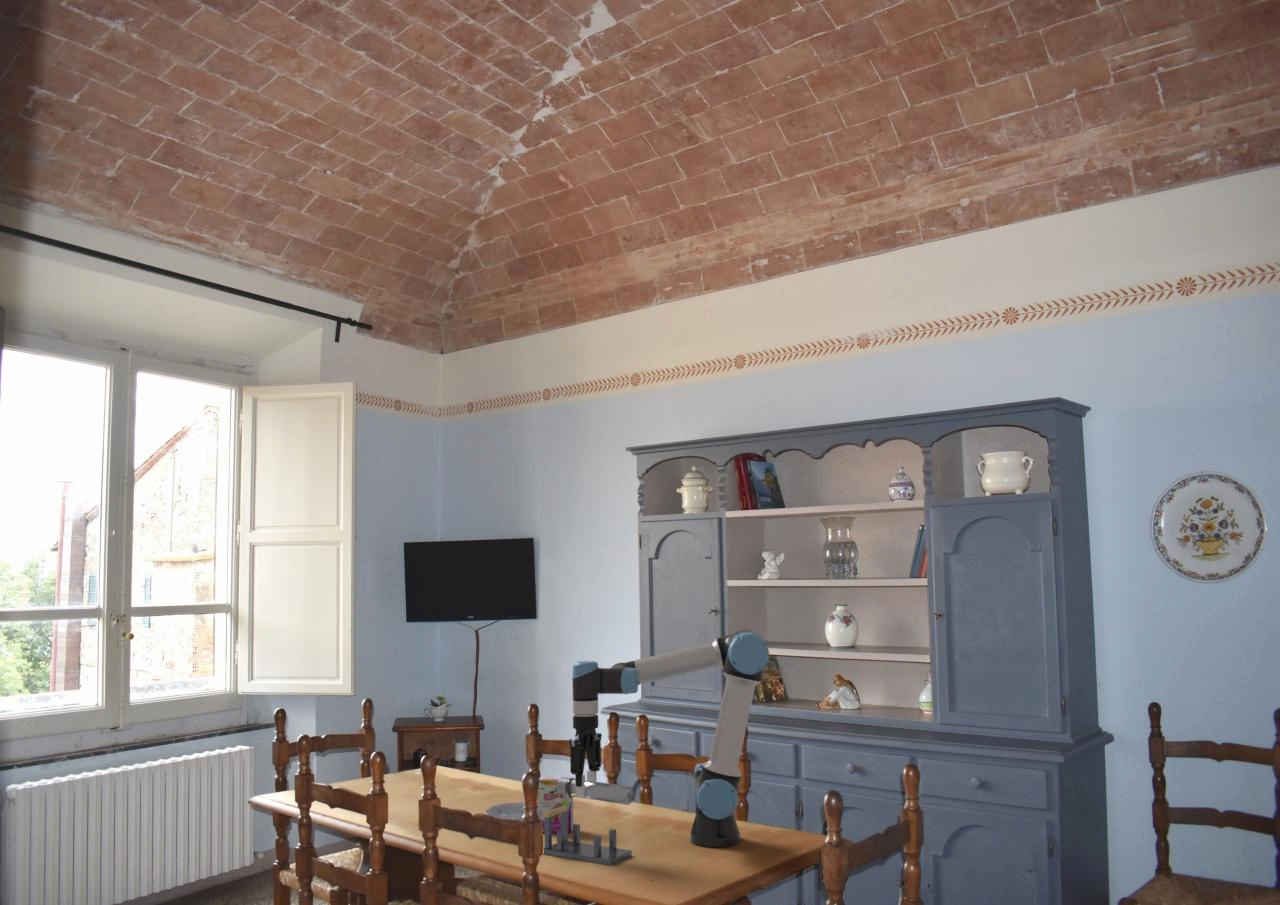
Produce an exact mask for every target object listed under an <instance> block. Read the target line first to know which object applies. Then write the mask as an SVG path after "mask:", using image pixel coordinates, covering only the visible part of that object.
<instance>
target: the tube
mask: <svg viewBox="0 0 1280 905" xmlns="http://www.w3.org/2000/svg"><path fill="white" fill-rule="evenodd" d="M559 777H560V778H559V779H558V781H557V784H556V791H557V793H558V794H560V795H566V796H571V797H573V798H574V797H575V798H577V797H576V777H575V778H574V777H572V778H566V777H567V776H565V777H564V776H559ZM584 799H586V800H594V801H601V802H605V803H615V804H619V805H620V804H621V805H627V806H628V805H630V804H631V803H632V801H633V799H634V790H633V788H632V786H630V785H629V786H628V785H621V784H616V783H615V784H614V783H609V782H601V781H596V782H594V781H587V779H585V798H584Z"/></svg>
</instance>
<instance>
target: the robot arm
mask: <svg viewBox="0 0 1280 905" xmlns="http://www.w3.org/2000/svg"><path fill="white" fill-rule="evenodd" d="M769 658H770V650H769V647H768V644H767V641H766V640H765V639H764V638H763V637H762V636H761V635H759V634H758V633H756V632H754V631H752V630H749V629H743V630H738V631H735V632H733V633H730V634H728V635H724V636H721V637H716V638H715V639H714V640H713V642H710V643H705V644H701V645H697V646H692V647H688V648H684V649H678V650H674V651H671V652H666V653H660V654H656V655H652V656H647V657H644V658H639V659H635V660H631V661H625V662H617V663H615V664H614V665H612V666H611V667H608V668H607V667H606V668H605V667H603V668H602V667H599V664H598V662H597V661H594V660H593V661H592V660H584V661H582V660H580V661H576V662H574V663H573V666H572V713H573V715H572V727H573V729H574V730H575V735H574V737H573V738H570V739H569V743H568V744H569V746H570V750H569V751H570V753H569V754H570V762H569V763H570V769H569V770H570V773H571V774H572V775H575V776H574V777H575V779H576V797H575V798H577V799H586V798H585V780H587V781H594V782H597V772H600V770H601V767H602V742H601V741H602V733H599V732H597V731H596V729H597V728H598V727H599V716H598V715H597V714H599V695H607V694H608V695H609V694H611V695H612V694H613V695H614V694H615V695H618V694H619V695H628V694H629V695H630V694H636V693H638V691H639V686H640V685H642V684H643V685H644V684H647V683H648V684H649V683H652V682H656V681H657V682H658V681H661V680H665V679H671V678H674V677H680V676H684V675H687V674H688V675H689V674H693V673H697V672H701V671H706V670H710V669H714V668H720V669H721V670H723V672H722V674H723V675H724V677H725V678H726V679H725V680H726V682H725V684H724V690H723V694H722V700H721V704H720V707H719V708H720V709H719V713H718V718H717V721H716V727H715V730H714V735H713V736H714V737H713V739H712V740H713V741H712V744H711V750H710V754H709V758H708V760H707V761H706V762H703V763H696V765H695V767H694V772H693V775H694V792H695V794H694V796H695V798H694V801H695V804H694V805H695V816H694V820H693V823H692V825H691V826H692V827H691V830H690V842H691V843H692V844H694V845H696V846H700V847H705V848H725V847H732V846H735V845H737V844H739V843H740V842H741V831H740V830H739V826H738V823H737V819H736V817H735V812H734V811H735V810H736V808H737V806H738V803H739V802H738V801H739V799H738V798H739V796H738V792H739V787H740V784H741V778H742V773H741V771H740V770H739V763H740V759H741V754H742V748H743V745H744V744H743V743H744V739H745V734H746V731H747V725H748V721H749V717H750V716H749V715H750V711H751V706H752V703H753V697H754V693H755V688H756V686H758V685H759V684H761V683H762V680H763V677H764V676H763V675H764V670H765V667H766V666H767V665H768V664H767V663H769ZM586 759H587V764H588V765H587V766H588V770H587V771H586V775H585V774H584V771H585V770H584V769H585V761H586Z"/></svg>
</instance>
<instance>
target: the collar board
mask: <svg viewBox="0 0 1280 905" xmlns="http://www.w3.org/2000/svg"><path fill="white" fill-rule="evenodd" d="M559 813H561V830H558V831H557V833H556V843H554V844H553V837H552V836H553V832H552V816H554V815H557V814H559ZM544 818H545V832H544V848H543V849H544V854H543V855H545V856H550V855H552V857H556V856H557V858H562V857H563V859H568V858H569V860H576V861H580V862H581V861H582V862H585V863H586V862H587V863H592V864H598V865H603V866H604V865H605V866H610V865H611V866H613V865H615V864H617V862H618V863H619V862H621V861H624V860H626V859H627V858H630V857H632V856H633V855H632V854H633V852H632V850H630V849H623V848H618V847H617V829H616V828H615V829H614V828H611V829H609V830H608V836H609V837H608V839H609V842H608V844H609V846H605V845H602V835H598V834H596V835H593V843H591V844H590V843H585V842H581V824H579V823H574V825H573V830H572V840H569V837H568V836H569V835H568V834H569V833H568V807H567V806H562V807H559V808H556V809H553V810H550V811H548V812H545V813H544Z"/></svg>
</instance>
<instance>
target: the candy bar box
mask: <svg viewBox="0 0 1280 905" xmlns="http://www.w3.org/2000/svg"><path fill="white" fill-rule="evenodd" d="M560 777H561V776H559V777H558V776H540V777H539V778H538V779H539V789H538V815H539V819H540V821H541V824H542V826H543V830H544V832H543V833H545V818H544V813H545V812H548V811H550V810H553V809H556V808H559V807H562V806H567V807H568V834H570V833H573V825H574V824H575V823H574V797H571V796H566V795H560V794H558V793H557V791H556V784H557V781H558V779H559V778H560ZM565 777H566V778H573V777H572V776H571V777H570V776H569V777H568V776H565ZM558 830H561V813H559V814H557V815H554V816H552V833H556V834H557V831H558Z"/></svg>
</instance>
